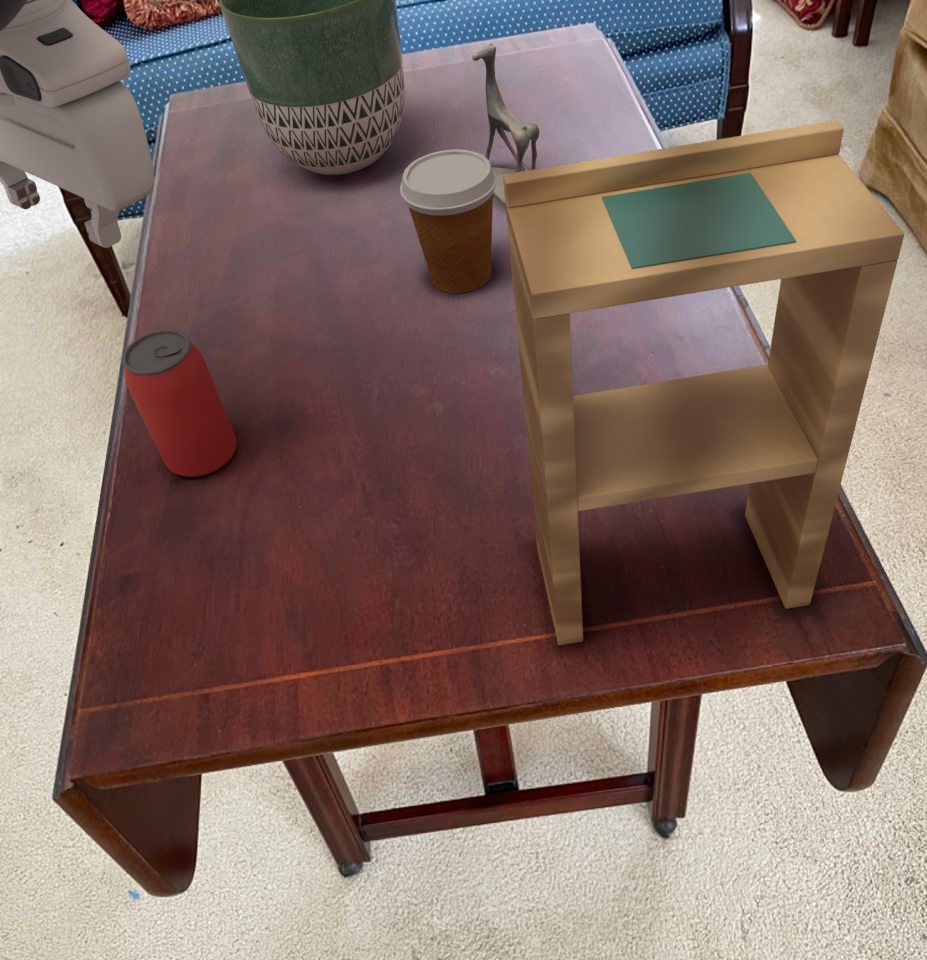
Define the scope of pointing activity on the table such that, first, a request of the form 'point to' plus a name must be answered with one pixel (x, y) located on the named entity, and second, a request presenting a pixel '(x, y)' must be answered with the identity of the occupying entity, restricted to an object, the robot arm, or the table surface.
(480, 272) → the disposable coffee cup
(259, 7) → the planter
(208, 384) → the beer can
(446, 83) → the table surface
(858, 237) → the shelf
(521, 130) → the figurine
